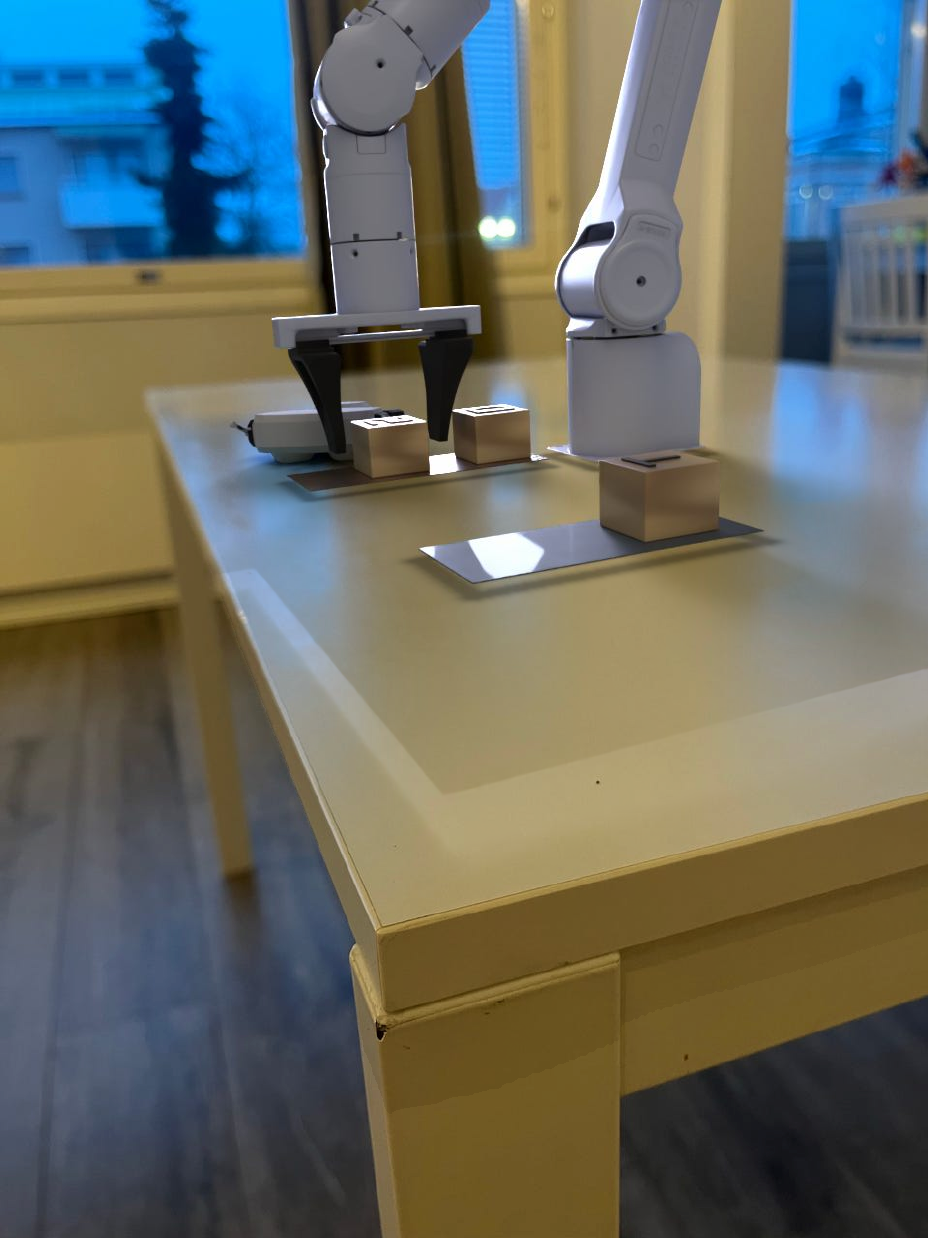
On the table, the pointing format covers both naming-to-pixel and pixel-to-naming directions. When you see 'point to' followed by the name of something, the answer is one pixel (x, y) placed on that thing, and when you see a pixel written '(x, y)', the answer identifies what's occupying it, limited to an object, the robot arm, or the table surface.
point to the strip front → (557, 549)
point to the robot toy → (305, 431)
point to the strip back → (354, 477)
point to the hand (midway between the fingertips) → (389, 445)
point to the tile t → (659, 495)
